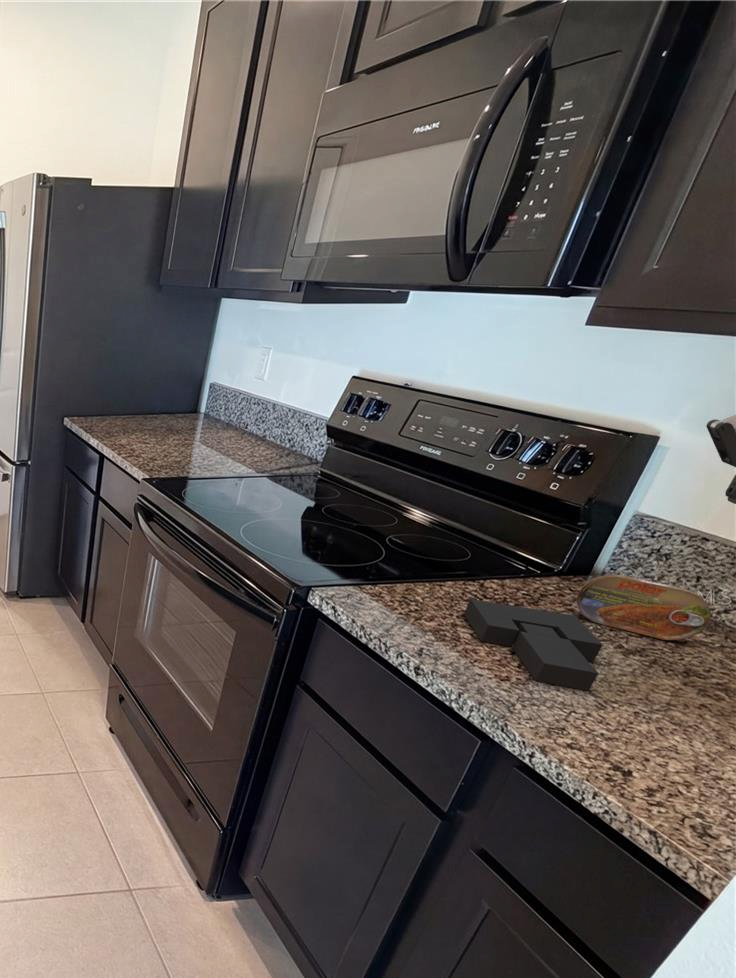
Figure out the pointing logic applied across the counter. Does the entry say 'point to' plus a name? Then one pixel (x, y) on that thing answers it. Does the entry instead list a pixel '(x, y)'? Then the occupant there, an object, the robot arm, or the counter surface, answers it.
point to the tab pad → (552, 658)
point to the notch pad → (504, 620)
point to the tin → (643, 607)
